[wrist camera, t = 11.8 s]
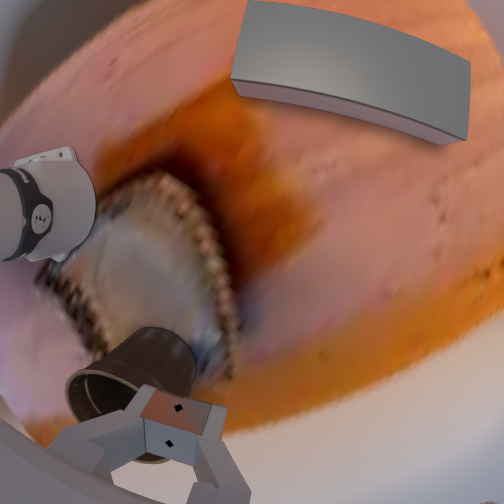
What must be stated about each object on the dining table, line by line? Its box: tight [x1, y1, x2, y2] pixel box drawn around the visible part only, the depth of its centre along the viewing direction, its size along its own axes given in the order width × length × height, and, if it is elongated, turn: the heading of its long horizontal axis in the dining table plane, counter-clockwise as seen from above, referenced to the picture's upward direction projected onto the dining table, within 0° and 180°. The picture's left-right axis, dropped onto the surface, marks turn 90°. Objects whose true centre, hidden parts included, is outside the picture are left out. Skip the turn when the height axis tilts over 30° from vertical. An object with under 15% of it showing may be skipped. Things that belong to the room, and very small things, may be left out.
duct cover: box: [230, 0, 470, 141], centre depth 27 cm, size 28×11×1 cm, turn 79°
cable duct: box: [232, 80, 462, 146], centre depth 31 cm, size 28×11×6 cm, turn 79°
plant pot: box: [65, 327, 196, 464], centre depth 38 cm, size 16×16×16 cm
